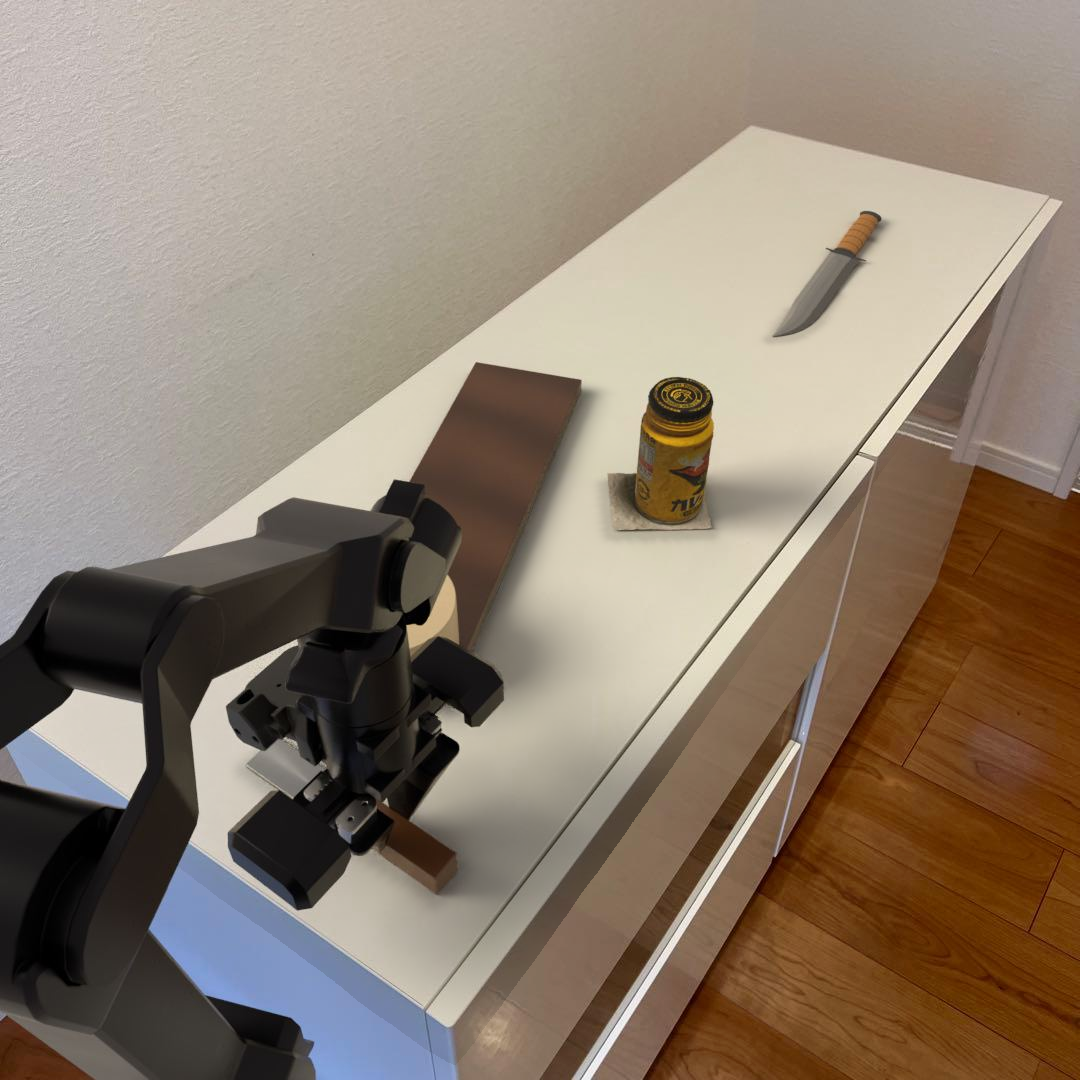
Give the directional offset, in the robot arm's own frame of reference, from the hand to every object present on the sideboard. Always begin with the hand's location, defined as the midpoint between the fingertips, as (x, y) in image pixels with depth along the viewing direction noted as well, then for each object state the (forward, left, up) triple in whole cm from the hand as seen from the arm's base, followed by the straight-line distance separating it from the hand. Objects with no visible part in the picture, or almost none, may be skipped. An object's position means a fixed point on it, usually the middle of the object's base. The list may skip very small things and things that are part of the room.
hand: (388, 833), depth 71 cm
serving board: (+32, +5, -1) cm, 32 cm away
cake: (+15, +5, 0) cm, 16 cm away
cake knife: (+1, +2, -1) cm, 3 cm away
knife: (+81, -22, -1) cm, 84 cm away
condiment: (+38, -11, -1) cm, 39 cm away
